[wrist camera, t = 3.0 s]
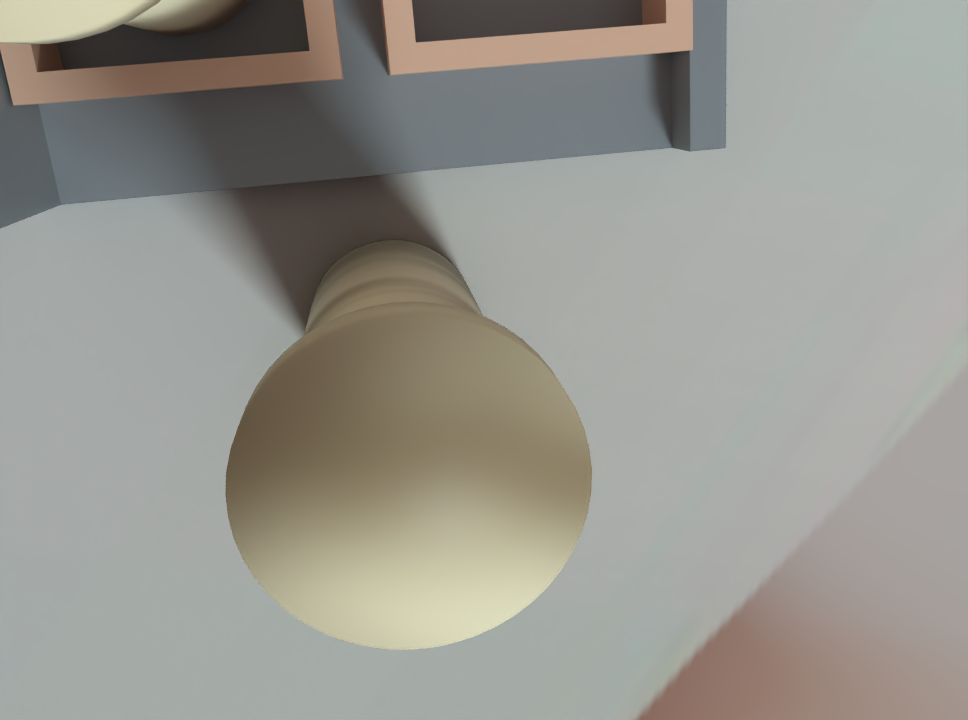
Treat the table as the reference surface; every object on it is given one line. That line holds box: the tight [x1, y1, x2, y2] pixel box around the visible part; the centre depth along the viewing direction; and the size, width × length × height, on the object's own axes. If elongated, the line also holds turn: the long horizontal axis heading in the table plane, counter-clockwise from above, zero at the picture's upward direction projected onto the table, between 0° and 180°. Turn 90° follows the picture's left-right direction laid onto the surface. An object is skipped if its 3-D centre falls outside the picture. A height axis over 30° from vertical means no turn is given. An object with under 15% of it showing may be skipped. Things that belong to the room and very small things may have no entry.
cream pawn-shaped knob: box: [226, 240, 592, 650], centre depth 21 cm, size 6×6×12 cm
